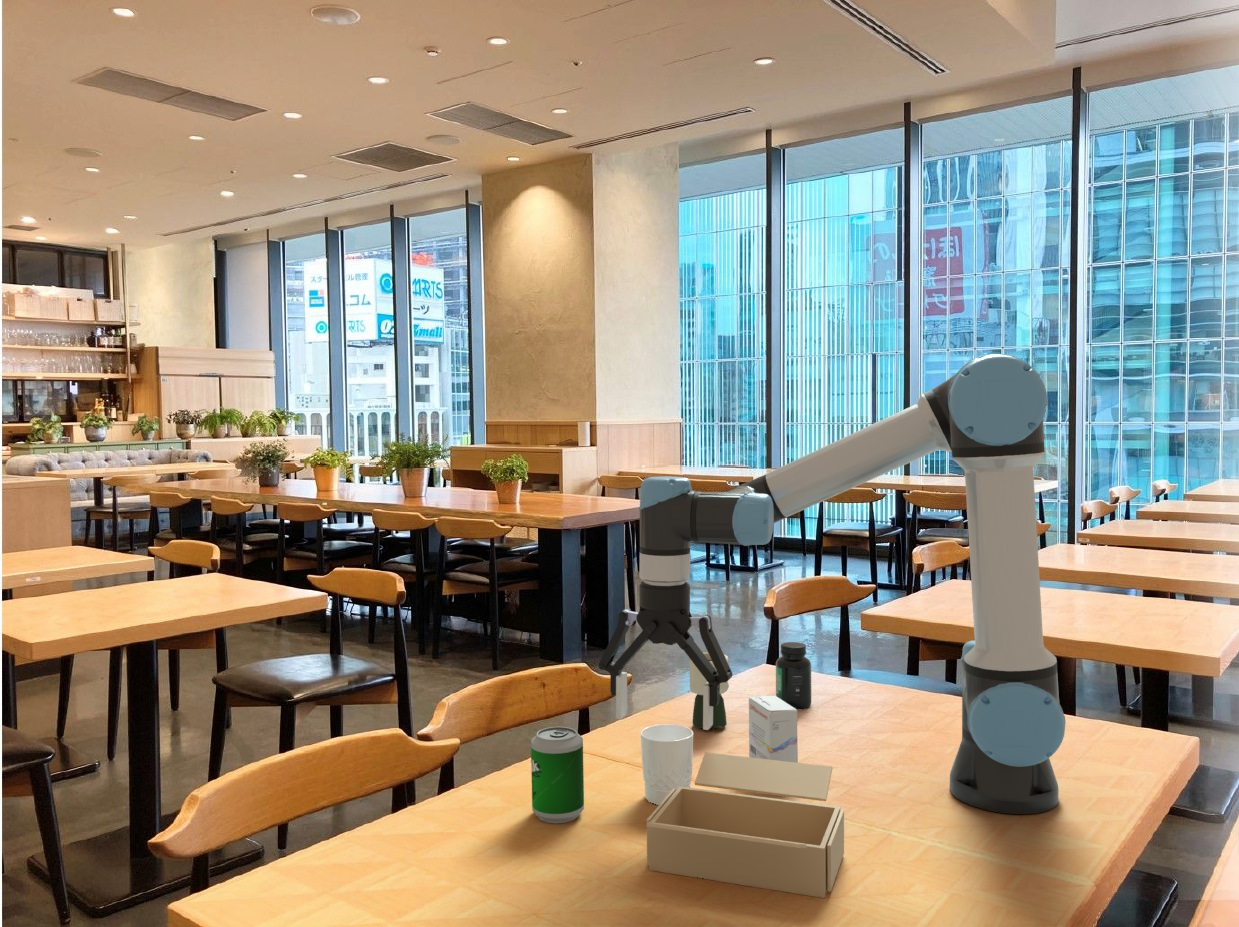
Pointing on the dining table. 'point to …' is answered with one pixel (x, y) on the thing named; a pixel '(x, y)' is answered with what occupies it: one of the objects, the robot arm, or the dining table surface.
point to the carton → (744, 858)
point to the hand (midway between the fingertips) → (664, 721)
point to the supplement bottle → (794, 675)
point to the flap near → (727, 835)
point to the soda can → (557, 774)
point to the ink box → (772, 729)
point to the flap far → (764, 776)
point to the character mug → (697, 688)
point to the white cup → (666, 759)
